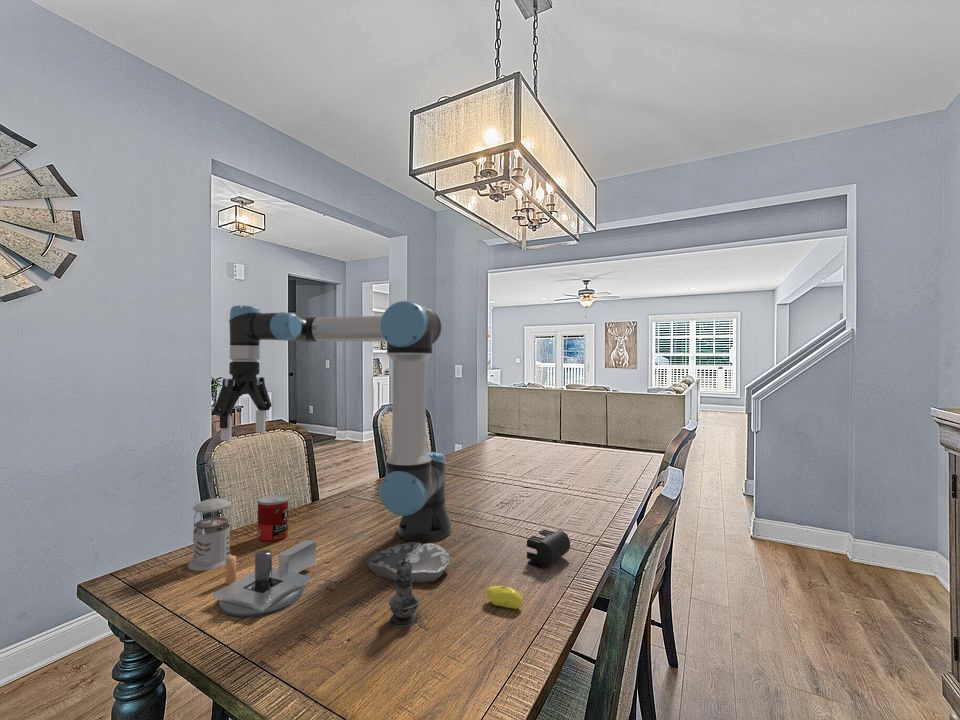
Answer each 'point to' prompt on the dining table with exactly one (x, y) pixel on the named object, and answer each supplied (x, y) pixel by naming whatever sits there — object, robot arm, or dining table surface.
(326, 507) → the dining table surface
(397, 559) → the brain slice
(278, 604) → the post base
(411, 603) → the dark grey chess piece
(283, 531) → the canned food
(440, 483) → the robot arm
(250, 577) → the grey plastic holder
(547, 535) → the end cap
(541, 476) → the dining table surface
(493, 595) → the lemon
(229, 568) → the dowel
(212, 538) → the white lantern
